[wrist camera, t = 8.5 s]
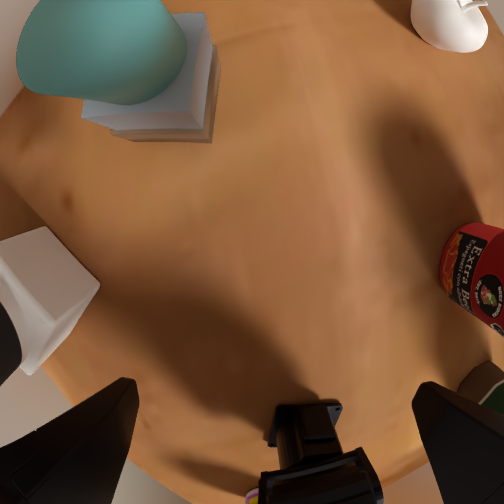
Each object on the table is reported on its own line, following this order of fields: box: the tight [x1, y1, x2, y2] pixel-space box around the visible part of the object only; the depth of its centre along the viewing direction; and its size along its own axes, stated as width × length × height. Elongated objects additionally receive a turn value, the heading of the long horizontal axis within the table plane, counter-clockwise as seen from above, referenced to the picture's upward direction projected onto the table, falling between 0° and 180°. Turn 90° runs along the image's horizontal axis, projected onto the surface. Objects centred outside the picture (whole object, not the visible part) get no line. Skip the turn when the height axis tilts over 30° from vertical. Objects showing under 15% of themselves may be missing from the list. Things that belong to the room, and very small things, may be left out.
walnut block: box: [110, 45, 221, 143], centre depth 15 cm, size 6×6×4 cm
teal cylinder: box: [16, 0, 187, 105], centre depth 6 cm, size 4×4×5 cm
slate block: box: [81, 12, 213, 130], centre depth 11 cm, size 5×5×4 cm
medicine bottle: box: [0, 226, 100, 386], centre depth 14 cm, size 7×7×12 cm
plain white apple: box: [411, 0, 488, 53], centre depth 11 cm, size 7×7×8 cm
